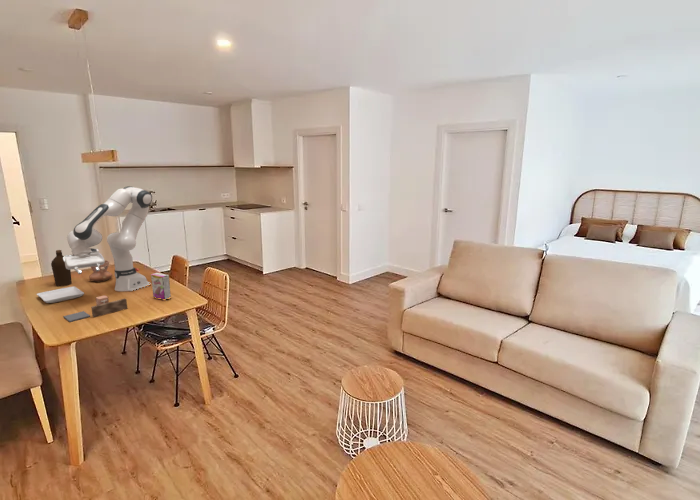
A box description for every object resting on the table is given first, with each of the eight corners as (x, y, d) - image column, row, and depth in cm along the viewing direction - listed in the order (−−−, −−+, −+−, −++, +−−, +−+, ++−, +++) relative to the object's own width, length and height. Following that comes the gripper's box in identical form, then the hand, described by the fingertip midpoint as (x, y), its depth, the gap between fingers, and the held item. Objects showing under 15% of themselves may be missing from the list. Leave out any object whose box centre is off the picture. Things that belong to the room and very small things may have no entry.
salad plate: (74, 290, 264) (74, 285, 263) (85, 297, 251) (85, 292, 250) (36, 298, 248) (35, 293, 247) (45, 306, 235) (44, 301, 234)
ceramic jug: (115, 280, 285) (113, 262, 282) (93, 284, 274) (90, 265, 272) (108, 276, 297) (106, 258, 294) (86, 279, 287) (84, 261, 284)
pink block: (106, 307, 234) (104, 295, 232) (109, 309, 231) (108, 297, 229) (97, 310, 230) (95, 297, 229) (100, 312, 227) (98, 299, 225)
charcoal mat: (83, 312, 226) (83, 311, 226) (90, 316, 220) (90, 315, 220) (63, 317, 218) (63, 316, 218) (69, 322, 213) (69, 320, 212)
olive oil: (70, 285, 272) (65, 251, 266) (52, 287, 267) (47, 252, 262) (74, 281, 281) (69, 248, 275) (56, 283, 277) (51, 249, 271)
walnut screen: (125, 307, 235) (124, 298, 233) (127, 308, 233) (126, 299, 232) (92, 316, 221) (91, 306, 219) (94, 317, 220) (92, 307, 218)
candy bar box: (152, 298, 251) (150, 274, 248) (159, 296, 256) (157, 272, 252) (164, 301, 247) (162, 276, 243) (171, 298, 251) (169, 274, 248)
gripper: (62, 253, 228) (69, 272, 224) (101, 248, 244) (108, 266, 240) (60, 259, 231) (68, 278, 227) (98, 254, 247) (106, 272, 243)
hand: (89, 272), depth 234 cm, fingers open, 8 cm apart
